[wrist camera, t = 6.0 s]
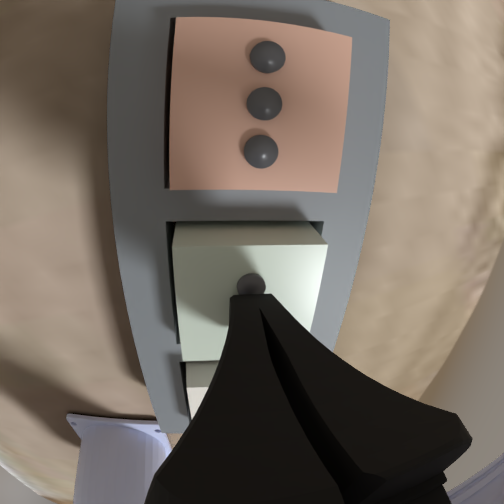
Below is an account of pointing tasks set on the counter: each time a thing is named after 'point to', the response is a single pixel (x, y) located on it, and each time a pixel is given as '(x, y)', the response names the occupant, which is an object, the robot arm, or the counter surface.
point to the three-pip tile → (257, 105)
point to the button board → (225, 201)
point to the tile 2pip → (241, 275)
